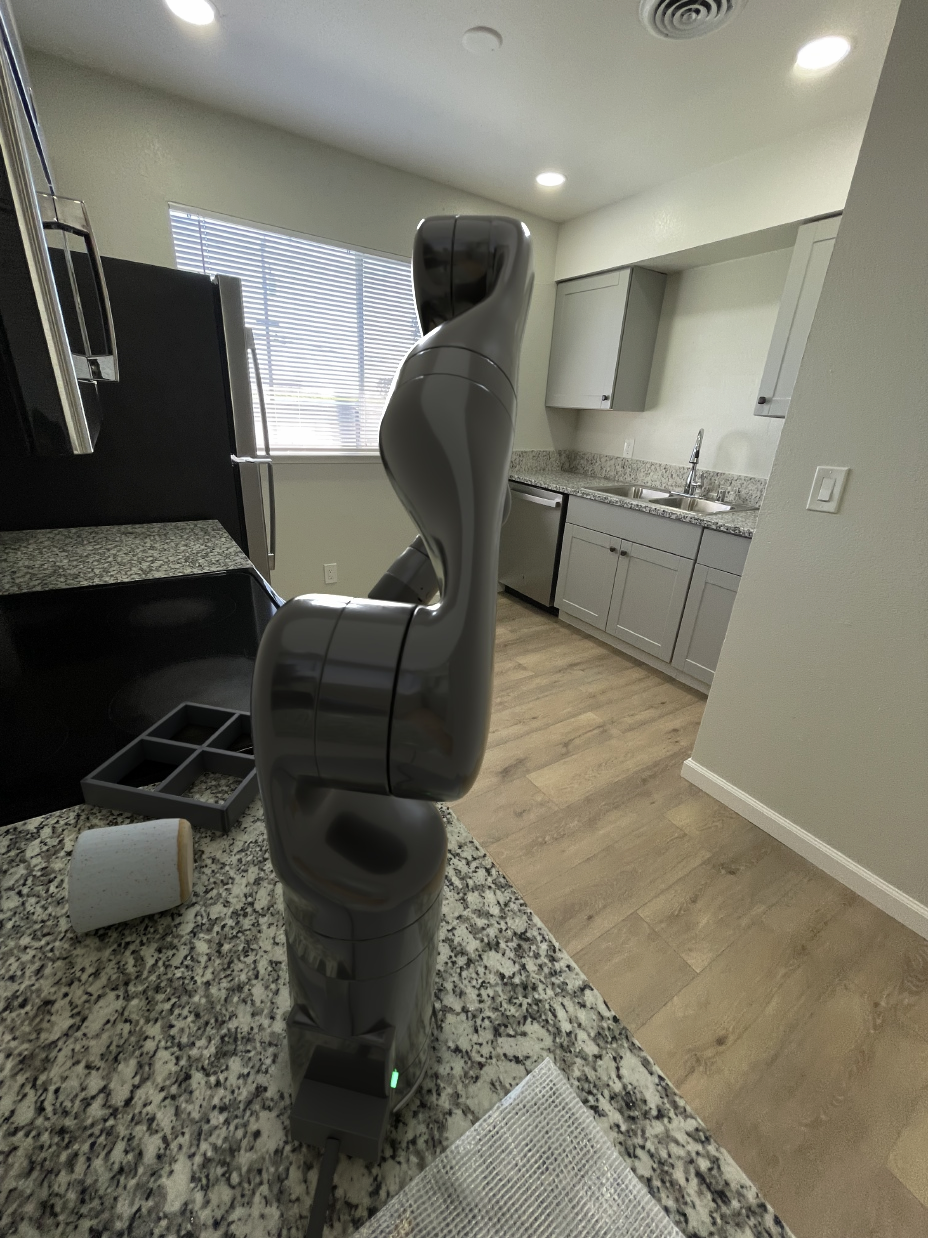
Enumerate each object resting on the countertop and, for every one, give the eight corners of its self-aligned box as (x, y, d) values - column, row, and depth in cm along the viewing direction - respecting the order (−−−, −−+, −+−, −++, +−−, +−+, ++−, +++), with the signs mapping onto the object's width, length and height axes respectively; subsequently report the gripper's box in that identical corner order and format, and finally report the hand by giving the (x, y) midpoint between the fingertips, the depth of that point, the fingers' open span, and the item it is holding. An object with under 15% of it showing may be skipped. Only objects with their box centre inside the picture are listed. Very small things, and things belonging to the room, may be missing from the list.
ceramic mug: (195, 921, 43) (184, 852, 40) (77, 956, 40) (56, 884, 37) (198, 832, 52) (189, 770, 49) (101, 854, 48) (86, 789, 46)
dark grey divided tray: (227, 833, 52) (224, 810, 51) (85, 804, 54) (79, 781, 53) (300, 740, 67) (299, 721, 66) (187, 720, 69) (184, 701, 67)
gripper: (365, 558, 74) (293, 646, 72) (423, 587, 65) (342, 691, 62) (394, 587, 80) (329, 670, 77) (452, 618, 70) (379, 714, 67)
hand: (335, 679), depth 70 cm, fingers open, 8 cm apart
